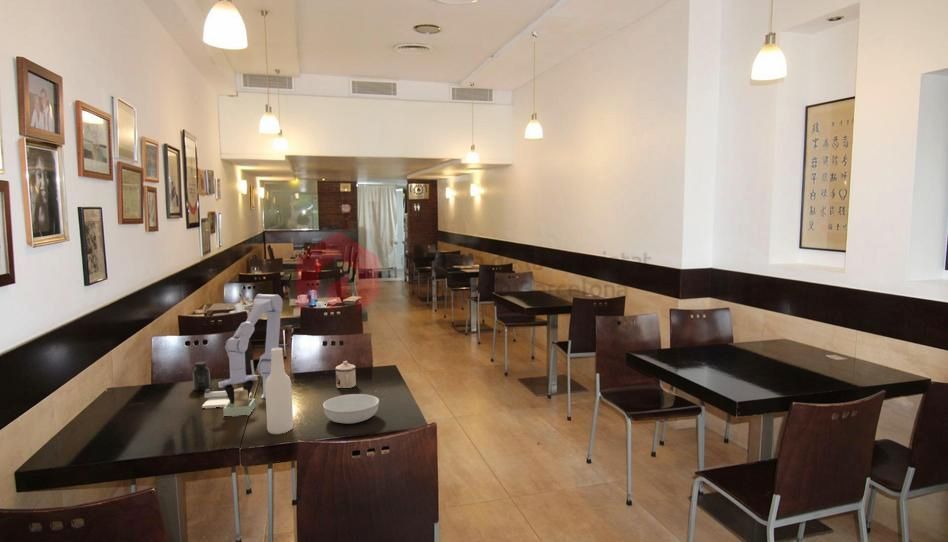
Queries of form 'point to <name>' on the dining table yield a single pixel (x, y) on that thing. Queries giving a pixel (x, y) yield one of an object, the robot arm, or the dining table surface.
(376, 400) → the serving bowl
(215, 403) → the crank board
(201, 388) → the supplement bottle
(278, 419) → the alcohol
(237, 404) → the block
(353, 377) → the teacup with lid
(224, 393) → the crank arm
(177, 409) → the dining table surface
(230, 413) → the tray
